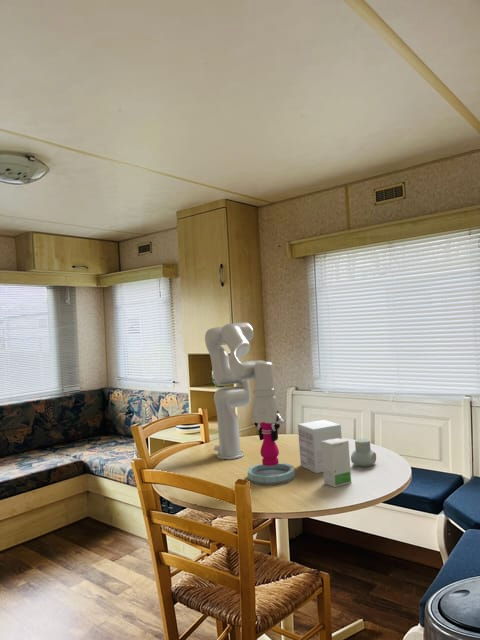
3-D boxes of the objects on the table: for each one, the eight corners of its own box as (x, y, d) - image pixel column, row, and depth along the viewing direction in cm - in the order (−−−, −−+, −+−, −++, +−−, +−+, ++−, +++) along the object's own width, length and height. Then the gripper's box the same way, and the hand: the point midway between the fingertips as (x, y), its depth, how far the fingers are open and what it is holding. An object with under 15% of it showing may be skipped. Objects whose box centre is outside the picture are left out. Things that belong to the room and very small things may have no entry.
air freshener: (358, 460, 202) (356, 436, 202) (377, 462, 198) (376, 437, 198) (350, 468, 192) (348, 443, 192) (370, 470, 188) (368, 444, 188)
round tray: (239, 481, 186) (238, 473, 186) (264, 468, 200) (263, 460, 200) (279, 488, 175) (279, 479, 175) (302, 473, 190) (302, 465, 190)
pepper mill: (260, 461, 191) (256, 411, 191) (278, 460, 192) (274, 410, 192) (262, 467, 184) (258, 414, 184) (281, 465, 184) (277, 413, 185)
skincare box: (334, 488, 171) (331, 444, 171) (322, 483, 177) (319, 441, 177) (352, 483, 175) (349, 440, 175) (340, 478, 181) (337, 437, 181)
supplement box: (327, 460, 206) (324, 419, 206) (344, 467, 193) (341, 424, 194) (299, 465, 201) (296, 423, 201) (315, 473, 189) (312, 429, 189)
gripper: (242, 394, 190) (245, 440, 190) (279, 395, 180) (282, 444, 180) (252, 391, 196) (255, 436, 196) (288, 392, 186) (292, 439, 186)
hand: (268, 439), depth 188 cm, fingers closed on pepper mill, 5 cm apart
